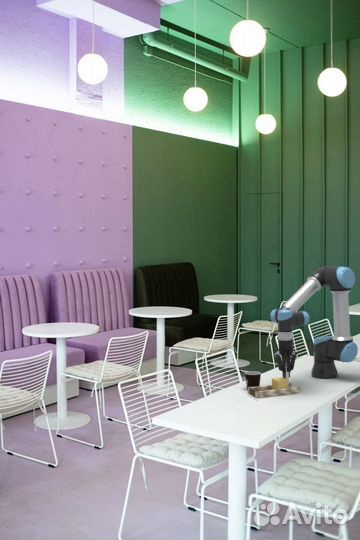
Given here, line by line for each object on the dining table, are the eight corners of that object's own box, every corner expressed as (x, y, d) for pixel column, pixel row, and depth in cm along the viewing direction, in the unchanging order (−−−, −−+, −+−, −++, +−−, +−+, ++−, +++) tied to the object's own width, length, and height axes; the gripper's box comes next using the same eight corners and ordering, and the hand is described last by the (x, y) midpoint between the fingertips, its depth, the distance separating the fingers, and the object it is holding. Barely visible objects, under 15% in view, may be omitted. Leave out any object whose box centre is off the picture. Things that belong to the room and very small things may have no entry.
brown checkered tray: (290, 390, 334) (289, 382, 334) (300, 395, 322) (300, 387, 322) (247, 395, 326) (247, 387, 326) (257, 400, 315) (256, 392, 315)
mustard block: (282, 390, 330) (282, 377, 329) (288, 393, 323) (288, 380, 323) (272, 391, 328) (271, 378, 327) (278, 394, 321) (277, 381, 321)
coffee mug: (260, 393, 329) (260, 374, 328) (244, 393, 331) (244, 374, 330) (262, 388, 340) (261, 370, 340) (246, 387, 342) (246, 369, 342)
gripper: (277, 341, 319) (278, 386, 321) (300, 339, 323) (301, 384, 325) (271, 339, 326) (272, 383, 328) (293, 337, 330) (294, 380, 332)
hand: (286, 383), depth 326 cm, fingers closed
